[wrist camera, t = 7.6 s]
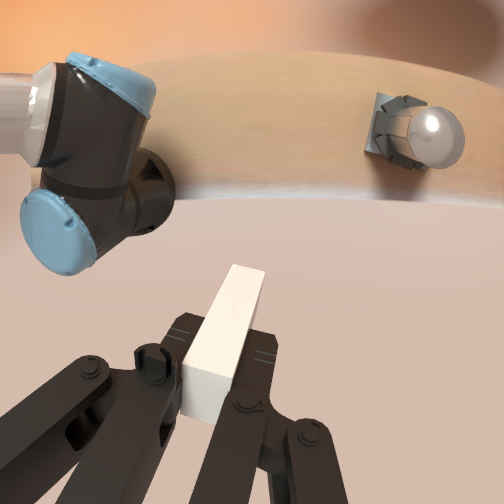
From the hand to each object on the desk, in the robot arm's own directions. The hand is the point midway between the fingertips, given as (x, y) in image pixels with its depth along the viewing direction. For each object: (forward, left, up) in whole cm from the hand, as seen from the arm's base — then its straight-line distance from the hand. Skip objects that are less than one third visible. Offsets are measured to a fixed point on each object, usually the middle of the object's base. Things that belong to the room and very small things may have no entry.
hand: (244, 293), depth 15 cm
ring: (+15, +11, -32) cm, 37 cm away
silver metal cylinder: (+15, +10, -30) cm, 35 cm away
